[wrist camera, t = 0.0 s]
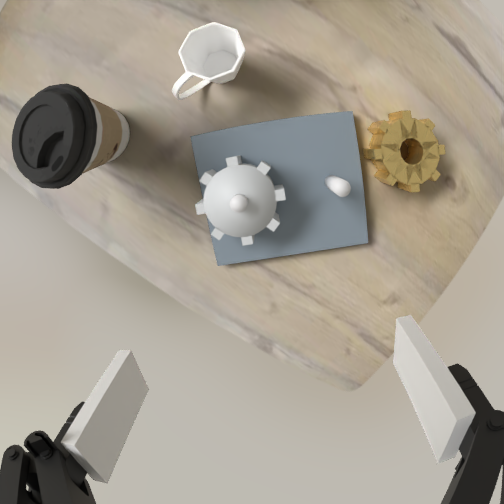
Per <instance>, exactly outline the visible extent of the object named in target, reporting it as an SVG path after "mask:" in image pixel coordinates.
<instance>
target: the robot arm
mask: <svg viewBox="0 0 504 504" xmlns="http://www.w3.org/2000/svg"><path fill="white" fill-rule="evenodd" d="M393 364H394V366H395V368H396V370H397V372H398V374H399V376H400V378H401V381H402V383H403V385H404V387H405V389H406V391H407V393H408V396H409V398H410V400H411V402H412V404H413V406H414V409H415V411H416V413H417V416H418V418H419V420H420V422H421V425H422V427H423V429H424V432H425V434H426V437H427V439H428V441H429V444H430V446H431V449H432V451H433V454H434V456H435V459H436V461H437V463H441V462H444V461H446V460H449V459H451V458H454V457H455V456H456V454H457V452H458V450H460V452H461V455H462V458H461V459H460V461H459V463H458V465H457V466H456V468H455V469H456V472H455V474H454V476H453V479H452V481H451V483H450V486H449V488H448V490H447V492H446V494H445V496H444V498H443V500H442V503H441V504H489V503H490V500H491V497H492V494H493V491H494V488H495V485H496V482H497V479H498V476H499V473H500V469H501V466H502V465H503V475H502V491H501V501H500V504H504V412H502V411H500V410H494V409H493V407H492V406H491V404H490V403H489V401H488V400H487V398H486V397H485V395H484V394H483V392H482V391H481V389H480V388H479V386H477V383H476V382H475V381H474V379H473V378H472V377H471V375H470V373H469V372H468V370H467V369H465V368H464V367H462V366H461V365H459V364H455V365H452V366H449V367H447V366H446V365H445V363H444V362H443V360H442V359H441V357H440V356H439V354H438V353H437V352H436V350H435V348H434V347H433V346H432V344H431V343H430V341H429V340H428V338H427V337H426V335H425V334H424V333H423V331H422V330H421V328H420V327H419V326H418V324H417V323H416V321H415V320H414V319H413V317H412V316H411V315H408V316H404V317H399V318H396V333H395V346H394V358H393ZM148 390H149V388H148V386H147V384H146V382H145V380H144V378H143V376H142V373H141V371H140V369H139V367H138V365H137V362H136V360H135V358H134V356H133V353H132V351H131V350H119V351H118V353H117V354H116V356H115V357H114V359H113V360H112V362H111V363H110V365H109V366H108V368H107V369H106V371H105V372H104V374H103V375H102V377H101V378H100V380H99V381H98V383H97V384H96V386H95V388H94V389H93V391H92V392H91V394H90V395H89V397H88V399H87V400H86V402H81V403H80V404H79V405H78V406H77V407H76V408H74V410H73V411H72V413H71V415H70V417H69V418H68V419H67V421H66V423H65V424H64V426H63V427H62V429H61V430H60V432H59V434H58V435H57V437H56V439H55V440H54V442H52V440H51V439H50V438H49V437H48V435H47V434H46V433H45V432H43V431H35V432H33V433H31V434H30V435H29V436H28V437H27V438H26V440H25V441H24V446H25V447H26V448H27V450H28V451H29V452H25V451H24V449H23V448H22V447H21V446H19V445H13V446H10V447H9V448H7V450H6V451H5V452H4V455H3V459H2V464H1V469H0V504H96V502H95V499H94V497H93V494H92V492H91V489H90V486H89V484H88V481H87V480H86V479H85V476H86V474H87V473H88V474H89V476H90V477H91V478H92V479H93V480H95V481H100V482H104V483H108V481H109V479H110V476H111V474H112V472H113V469H114V467H115V465H116V462H117V460H118V457H119V455H120V453H121V451H122V448H123V446H124V444H125V441H126V439H127V437H128V435H129V432H130V430H131V428H132V426H133V423H134V421H135V419H136V417H137V414H138V412H139V410H140V408H141V406H142V403H143V401H144V399H145V397H146V395H147V392H148ZM26 484H27V485H28V486H29V490H28V491H27V490H26Z"/></svg>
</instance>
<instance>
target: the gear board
mask: <svg viewBox="0 0 504 504" xmlns="http://www.w3.org/2000/svg"><path fill="white" fill-rule="evenodd" d="M191 142H192V147H193V152H194V157H195V162H196V167H197V172H198V177H199V182H200V187H201V192H202V196H203V199H201V200H200V201H199V202H198V203H196V204H195V207H196V211H197V215H199V214H205V213H206V215H207V220H208V224H209V229H210V234H211V238H212V243H213V247H214V252H215V256H216V260H217V265H218V266H220V265H227V264H233V263H240V262H247V261H254V260H260V259H267V258H274V257H280V256H287V255H293V254H300V253H307V252H313V251H320V250H326V249H333V248H339V247H346V246H352V245H358V244H365V243H368V233H367V220H366V208H365V198H364V188H363V180H362V171H361V164H360V156H359V149H358V142H357V136H356V130H355V124H354V118H353V112H352V111H348V112H336V113H326V114H317V115H309V116H301V117H293V118H286V119H279V120H273V121H266V122H260V123H254V124H249V125H243V126H238V127H233V128H228V129H223V130H218V131H213V132H209V133H204V134H200V135H195V136H191Z"/></svg>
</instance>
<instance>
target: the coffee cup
mask: <svg viewBox="0 0 504 504" xmlns="http://www.w3.org/2000/svg"><path fill="white" fill-rule="evenodd" d="M129 136H130V129H129V124H128V122H127V121H126V119H125V117H124V116H123V115H122V114H121V113H120V112H118V111H117V110H115V109H113V108H110V107H108V106H106V105H104V104H102V103H100V102H98V101H96V100H94V99H91V98H89V97H88V95H86V94H85V93H84V92H83V91H82V90H81V89H80V88H79V87H76V86H73V85H69V84H59V85H53V86H48V87H47V88H45V89H43V90H42V91H40V92H38V93H37V94H36V95H35V96H34V97H32V98H31V99H30V100H29V101H28V102H27V103H26V104H25V105H24V106H23V108H22V109H21V111H20V113H19V115H18V117H17V119H16V122H15V125H14V129H13V134H12V150H13V157H14V160H15V162H16V165H17V167H18V169H19V170H20V172H21V173H22V174H23V175H24V176H25V177H26V178H28V179H29V180H30V181H31V182H32V183H34V184H36V185H37V186H39V187H41V188H53V189H54V188H57V189H59V188H61V187H64V186H67V185H69V184H71V183H72V182H73V181H75V180H76V179H77V178H78V177H79V176H80V175H82V173H85V172H87V171H89V170H91V169H94V168H96V167H98V166H101V165H103V164H105V163H108V162H110V161H112V160H114V159H115V158H117V157H118V156H119V155H120V154H122V152H123V151H124V150H125V148H126V147H127V144H128V141H129Z"/></svg>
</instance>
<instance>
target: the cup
mask: <svg viewBox="0 0 504 504" xmlns="http://www.w3.org/2000/svg"><path fill="white" fill-rule="evenodd" d="M245 51H246V50H245V47H244V45H243V43H242V40H241V38H240V36H239V33H238V31H237V29H234V28H231V27H228V26H225V25H222V24H219V23H216V22H212V23H210V24H207V25H204V26H202V27H199V28H197V29H194V30H192V31H190V32H189V34H188V35H187V37H186V39H185V41H184V42H183V44H182V46H181V48H180V50H179V55H180V58H181V60H182V63H183V66H184V68H185V71H186V73H184V74H183V75H182V76H181V77H180V78H179V79H178V80H177V82H176V83H175V84H174V86H173V89H172V93H173V95H174V96H175V97H176V98H177V99H178V100H183V99H185V98H187V97H189V96H191V95H192V94H194V93H196V92H197V91H199V90H200V89H202V88H203V87H205V86H206V85H208V84H209V83H210V82H214V83H220V84H223V83H225V82H228V81H231V80H234V79H235V77H236V75H237V73H238V71H239V69H240V66H241V64H242V62H243V58H244V54H245ZM193 76H197V77H200V78H203V79H204V80H203V81H201V82H200V83H198V84H197V85H195V86H194V87H192V88H190V89H189V90H187V91H185V92H183V93H181V94H178V93H179V91H180V88H181V87H182V86H183V84H185V83H186V82H187V81H188V80H189V79H191V78H192V77H193Z"/></svg>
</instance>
